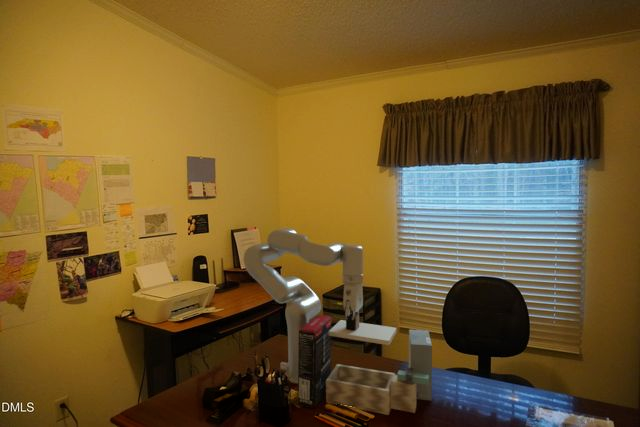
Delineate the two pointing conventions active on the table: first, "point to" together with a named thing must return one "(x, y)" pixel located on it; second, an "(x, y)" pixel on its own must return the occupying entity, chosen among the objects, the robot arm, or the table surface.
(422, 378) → the teal rectangular block
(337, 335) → the toolbox lid
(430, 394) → the hard drive box
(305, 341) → the graphics card box
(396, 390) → the toolbox
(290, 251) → the robot arm
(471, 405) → the table surface
